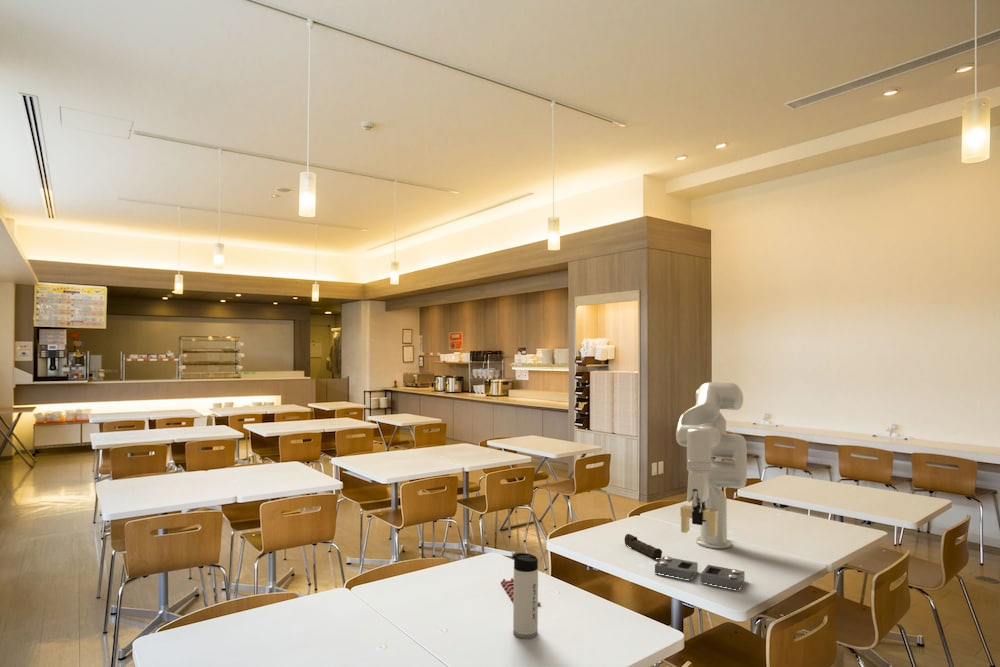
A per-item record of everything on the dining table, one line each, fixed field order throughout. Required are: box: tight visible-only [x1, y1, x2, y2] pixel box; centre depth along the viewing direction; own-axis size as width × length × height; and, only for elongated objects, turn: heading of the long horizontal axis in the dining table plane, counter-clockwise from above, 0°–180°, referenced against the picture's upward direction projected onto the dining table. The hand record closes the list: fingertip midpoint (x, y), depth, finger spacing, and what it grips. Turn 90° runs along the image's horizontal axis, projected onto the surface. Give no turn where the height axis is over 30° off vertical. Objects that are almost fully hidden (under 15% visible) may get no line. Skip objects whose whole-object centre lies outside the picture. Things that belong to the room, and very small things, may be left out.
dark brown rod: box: [623, 533, 663, 560], centre depth 218 cm, size 19×4×5 cm, turn 23°
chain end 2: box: [700, 564, 745, 591], centre depth 188 cm, size 10×11×4 cm
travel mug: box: [512, 552, 539, 640], centre depth 152 cm, size 6×7×20 cm
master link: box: [680, 504, 718, 537], centre depth 193 cm, size 4×11×8 cm, turn 58°
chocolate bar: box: [500, 577, 541, 607], centre depth 177 cm, size 7×19×2 cm, turn 14°
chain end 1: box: [654, 556, 699, 581], centre depth 196 cm, size 10×11×4 cm
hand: (699, 522), depth 193 cm, fingers closed on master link, 4 cm apart
